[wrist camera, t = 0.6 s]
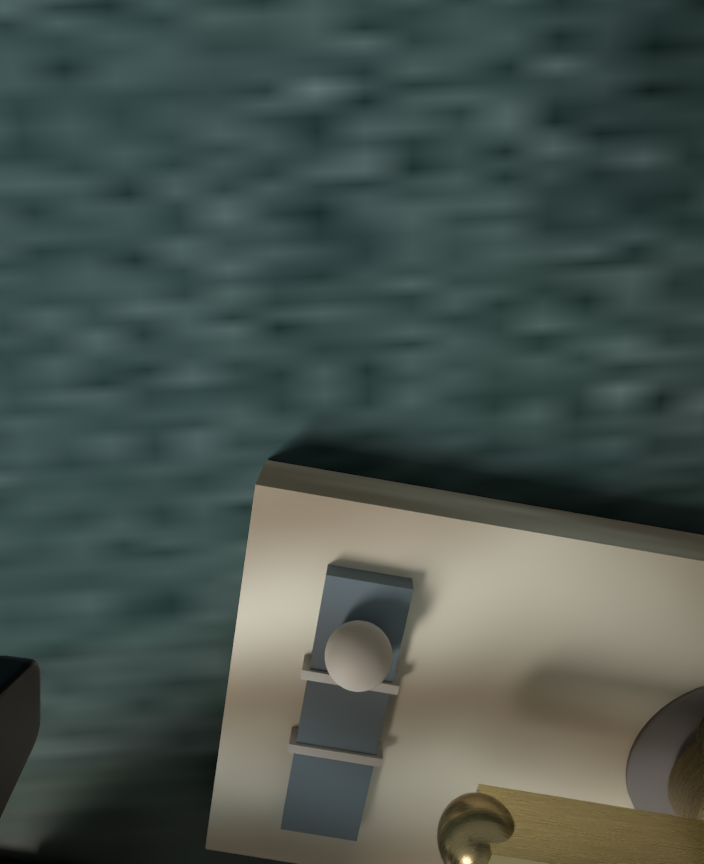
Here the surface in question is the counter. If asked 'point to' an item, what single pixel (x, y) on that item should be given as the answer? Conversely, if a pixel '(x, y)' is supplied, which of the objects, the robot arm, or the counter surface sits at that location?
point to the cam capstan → (577, 825)
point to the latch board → (445, 664)
